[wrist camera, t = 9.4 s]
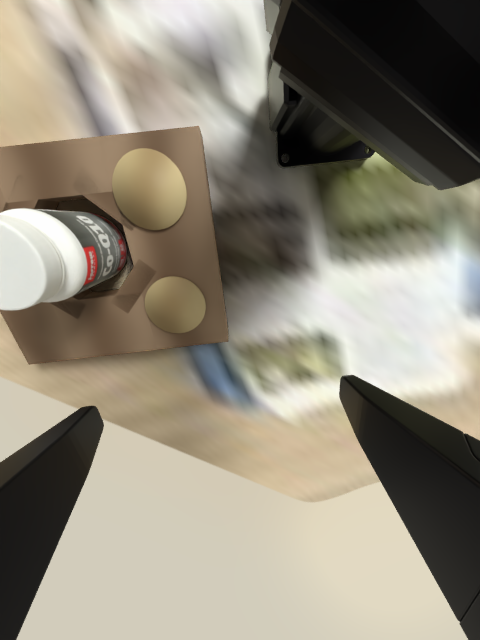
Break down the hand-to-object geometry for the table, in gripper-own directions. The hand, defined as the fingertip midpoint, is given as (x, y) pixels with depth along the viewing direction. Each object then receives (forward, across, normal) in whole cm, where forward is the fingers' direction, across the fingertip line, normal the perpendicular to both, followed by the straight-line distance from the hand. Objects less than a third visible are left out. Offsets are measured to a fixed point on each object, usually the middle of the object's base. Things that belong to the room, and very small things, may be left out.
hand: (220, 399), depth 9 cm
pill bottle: (+12, +9, -5) cm, 16 cm away
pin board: (+12, +8, -4) cm, 15 cm away
